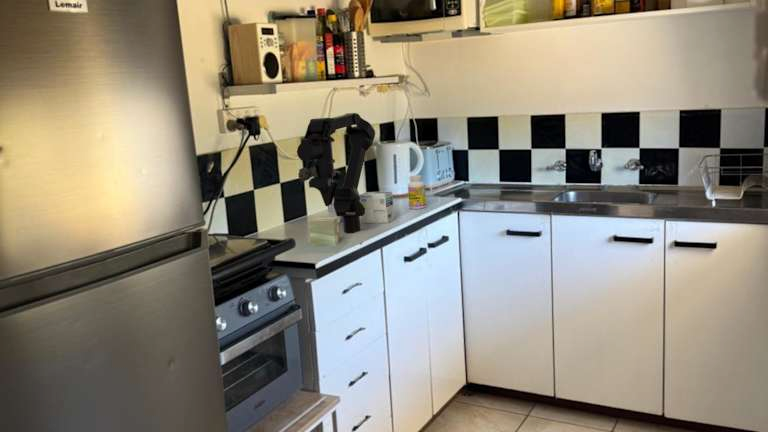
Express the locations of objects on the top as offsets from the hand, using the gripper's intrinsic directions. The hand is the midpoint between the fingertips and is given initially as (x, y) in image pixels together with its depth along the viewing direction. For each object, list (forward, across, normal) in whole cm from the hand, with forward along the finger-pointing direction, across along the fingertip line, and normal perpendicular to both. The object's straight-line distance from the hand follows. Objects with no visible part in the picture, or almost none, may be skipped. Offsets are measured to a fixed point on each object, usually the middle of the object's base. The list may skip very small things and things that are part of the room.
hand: (328, 205), depth 233 cm
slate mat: (+12, +12, 0) cm, 17 cm away
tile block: (+11, +8, 0) cm, 13 cm away
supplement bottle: (+12, -57, +20) cm, 62 cm away
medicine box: (+12, -37, -8) cm, 40 cm away
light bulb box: (+12, -32, +9) cm, 35 cm away
